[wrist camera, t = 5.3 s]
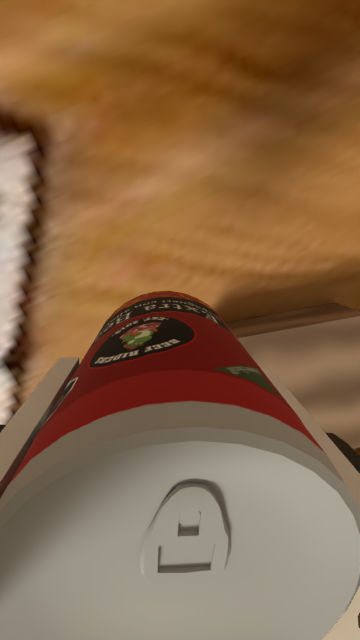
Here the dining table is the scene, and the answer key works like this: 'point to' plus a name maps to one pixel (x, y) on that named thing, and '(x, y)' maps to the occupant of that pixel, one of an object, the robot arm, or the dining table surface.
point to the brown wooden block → (312, 361)
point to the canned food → (174, 497)
